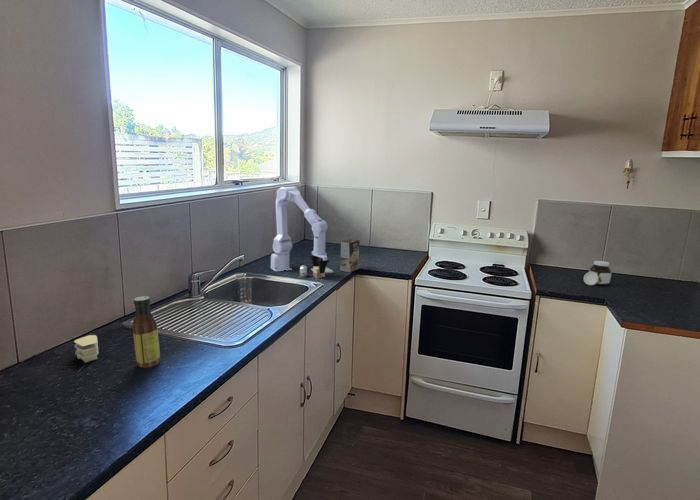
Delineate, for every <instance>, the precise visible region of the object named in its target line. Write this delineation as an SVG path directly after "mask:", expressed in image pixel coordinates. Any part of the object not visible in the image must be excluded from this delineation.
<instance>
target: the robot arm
mask: <svg viewBox="0 0 700 500" xmlns="http://www.w3.org/2000/svg"><path fill="white" fill-rule="evenodd" d="M290 202H292V203H295V204H296V206H297V207H298V208H299V209H300V210H301V211H302V212H303V213H304V214H303V217H304V219H306V221H307V222H308V223H309V224H310V225H311V231H312V233H313V250H311V255H310V256H309V258H310V260H311V262H312V268H313V267H316V266H319V270H320V273H324V272H325V269H326V267H327V265H328V263H329V262H330V260H329V259H328V256H327V255H328V253H327V252H326V232H327V230H328V228H329V226H328V223H327V221H326V220H323V219H322V218H321V217H320V216H319V215H318V213H317V210H315V209H313V208H310V207H309V206H308V203H306V201H305V199H303V196H302V195H301V192H300V190H298V188H297V187H296V186H286V187H284V186H282V187H279V188H278V189H277V190H276V198H275V215H276V216H275V217H276V218H275V220H276V236H275V237H274V238H273V242H272V243H273V244H272V250H273V252H274V253H271V254H270V267H269V268H270V269H271V270H273V271H274V272H285V271H284V270H286V271H293V269H292V268H291V267H290V253H291V250H292V249H293V242H292V239H291V238H292V237H290V235H289V234H288V233H289V232H288V212H287V211H288V210H287V207H288V206H287V205H288V204H289V203H290Z"/></svg>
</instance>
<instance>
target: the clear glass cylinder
mask: <svg viewBox="0 0 700 500" xmlns="http://www.w3.org/2000/svg"><path fill="white" fill-rule="evenodd" d="M307 275H308V266H306V265H304V266H302V265H300V266H299V277H300V278H307V277H308V276H307Z"/></svg>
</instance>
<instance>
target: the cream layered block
mask: <svg viewBox="0 0 700 500" xmlns="http://www.w3.org/2000/svg"><path fill="white" fill-rule="evenodd" d="M73 343H75V344H74V348H76V350H75V354H76V355H77V359H78V360H82V362H84V363H88V362H91V361H96V360H98V355H99V345H98V336H97V335H95V334H89V335H86V336H83V337H80V338H77V339H75V340H74V342H73Z"/></svg>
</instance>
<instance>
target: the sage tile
mask: <svg viewBox="0 0 700 500" xmlns="http://www.w3.org/2000/svg"><path fill="white" fill-rule="evenodd" d="M310 271H312V272H313V267H312V268H310ZM334 272H335V271H334V270H333V269H331V268H329V267H327V266H326V269H325V274H332V273H334Z"/></svg>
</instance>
